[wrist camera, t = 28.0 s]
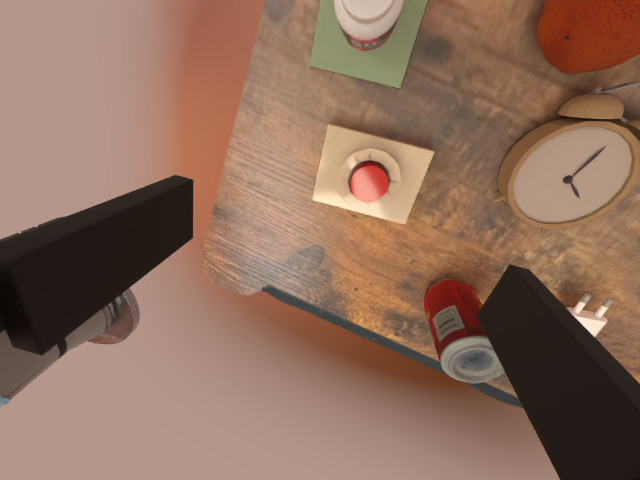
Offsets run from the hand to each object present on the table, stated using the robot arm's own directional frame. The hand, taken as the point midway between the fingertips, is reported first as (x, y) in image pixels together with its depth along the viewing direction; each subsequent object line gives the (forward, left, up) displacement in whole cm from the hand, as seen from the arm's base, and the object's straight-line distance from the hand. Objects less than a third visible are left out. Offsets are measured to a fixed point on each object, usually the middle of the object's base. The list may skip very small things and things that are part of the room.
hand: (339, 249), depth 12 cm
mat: (-3, +12, -25) cm, 28 cm away
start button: (+2, -2, -21) cm, 21 cm away
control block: (+2, -2, -25) cm, 25 cm away
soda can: (+18, -16, -25) cm, 35 cm away
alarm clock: (+22, +5, -25) cm, 34 cm away
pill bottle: (-3, +12, -24) cm, 27 cm away
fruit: (+16, +16, -25) cm, 34 cm away
